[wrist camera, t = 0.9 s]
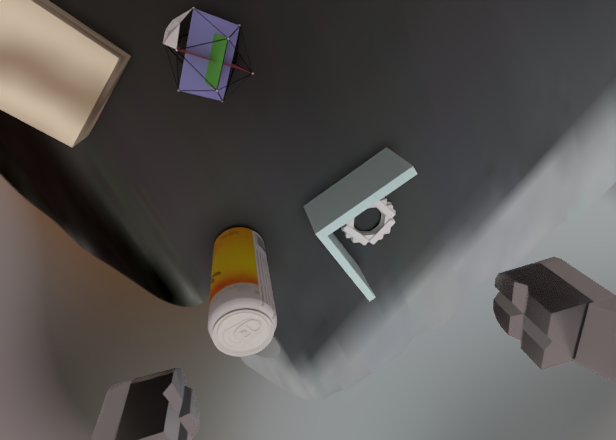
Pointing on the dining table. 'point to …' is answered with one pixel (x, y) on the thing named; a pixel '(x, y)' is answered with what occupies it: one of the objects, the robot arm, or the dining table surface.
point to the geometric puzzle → (205, 53)
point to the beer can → (240, 294)
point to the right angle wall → (358, 208)
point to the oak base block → (55, 69)
